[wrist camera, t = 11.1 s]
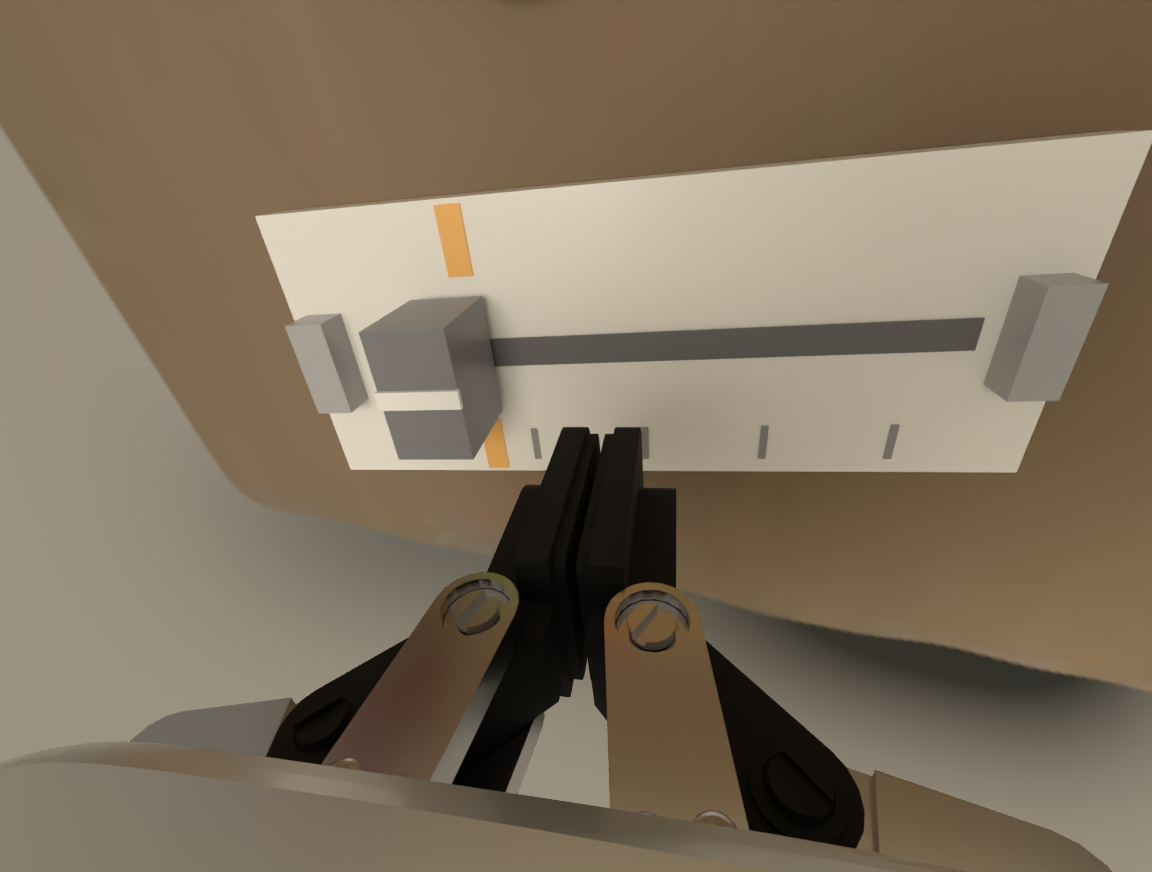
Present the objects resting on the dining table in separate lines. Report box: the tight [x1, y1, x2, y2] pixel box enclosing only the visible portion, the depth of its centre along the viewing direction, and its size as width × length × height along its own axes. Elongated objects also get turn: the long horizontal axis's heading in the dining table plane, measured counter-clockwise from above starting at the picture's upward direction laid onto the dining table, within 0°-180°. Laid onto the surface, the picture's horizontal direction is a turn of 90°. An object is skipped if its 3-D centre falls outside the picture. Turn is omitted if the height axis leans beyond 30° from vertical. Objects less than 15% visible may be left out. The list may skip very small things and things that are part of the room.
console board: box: [255, 130, 1152, 472], centre depth 20 cm, size 30×12×4 cm, turn 95°
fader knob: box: [359, 296, 503, 460], centre depth 19 cm, size 3×5×4 cm, turn 4°
